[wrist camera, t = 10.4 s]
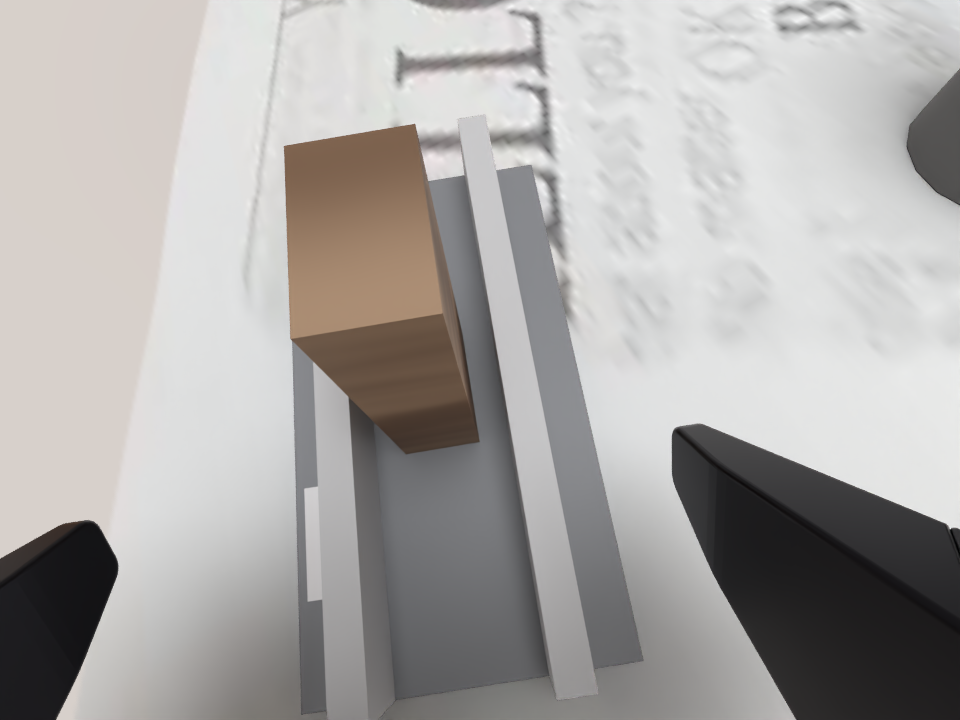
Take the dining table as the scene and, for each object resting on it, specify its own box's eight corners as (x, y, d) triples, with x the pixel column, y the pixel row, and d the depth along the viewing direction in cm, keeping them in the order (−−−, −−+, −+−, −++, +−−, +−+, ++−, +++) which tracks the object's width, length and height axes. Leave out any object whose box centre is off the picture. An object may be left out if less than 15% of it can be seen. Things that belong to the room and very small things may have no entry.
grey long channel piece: (634, 654, 17) (672, 682, 13) (315, 704, 17) (254, 748, 13) (530, 183, 23) (533, 106, 19) (299, 221, 23) (256, 151, 19)
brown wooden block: (479, 442, 18) (442, 313, 9) (406, 454, 18) (290, 338, 9) (459, 311, 20) (409, 88, 10) (392, 322, 20) (283, 110, 10)
